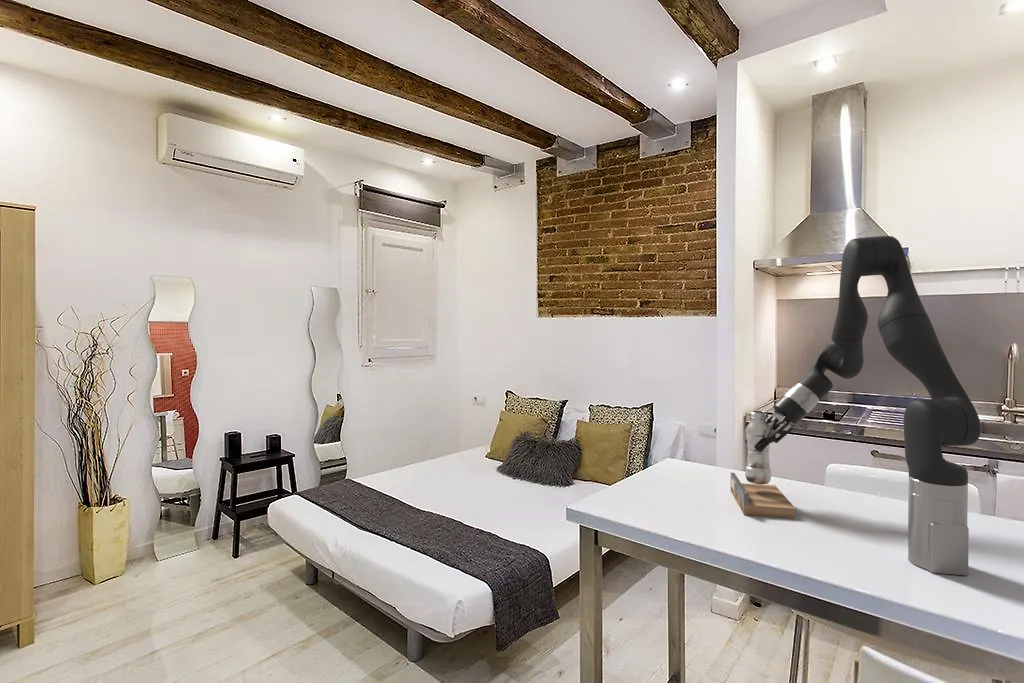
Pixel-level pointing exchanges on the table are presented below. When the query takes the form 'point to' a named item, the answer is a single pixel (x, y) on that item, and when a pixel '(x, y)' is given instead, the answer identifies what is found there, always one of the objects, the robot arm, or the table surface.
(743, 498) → the rail
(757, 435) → the silver bottle
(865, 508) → the table surface
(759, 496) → the shelf board
